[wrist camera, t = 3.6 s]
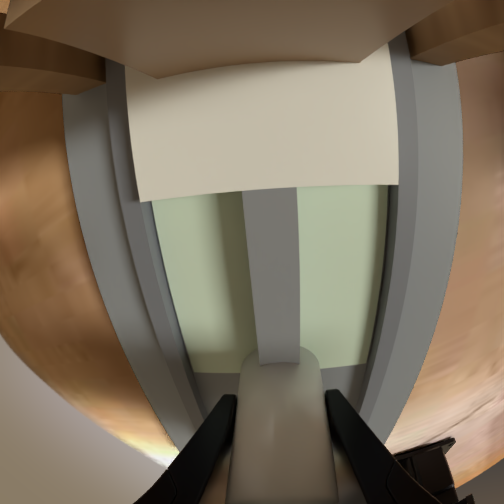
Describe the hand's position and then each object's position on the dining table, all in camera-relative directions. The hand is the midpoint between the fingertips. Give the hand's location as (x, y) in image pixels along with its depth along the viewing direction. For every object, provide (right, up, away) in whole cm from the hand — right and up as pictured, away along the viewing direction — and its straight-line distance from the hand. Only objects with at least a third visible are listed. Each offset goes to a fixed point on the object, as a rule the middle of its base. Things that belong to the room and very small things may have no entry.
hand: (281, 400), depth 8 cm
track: (0, +5, +1) cm, 5 cm away
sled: (-1, +7, -2) cm, 7 cm away
